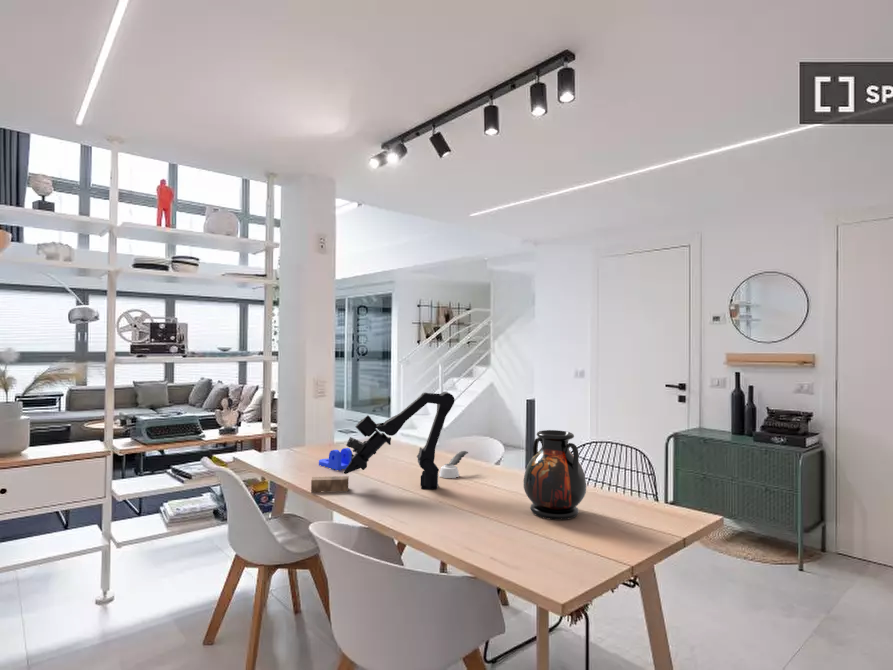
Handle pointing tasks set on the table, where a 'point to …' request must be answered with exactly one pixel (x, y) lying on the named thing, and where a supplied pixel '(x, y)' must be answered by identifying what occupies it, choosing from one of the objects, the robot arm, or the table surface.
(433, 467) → the robot arm
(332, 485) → the walnut block
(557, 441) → the amphora vase
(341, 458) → the bracket
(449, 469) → the inkwell
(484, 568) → the table surface
